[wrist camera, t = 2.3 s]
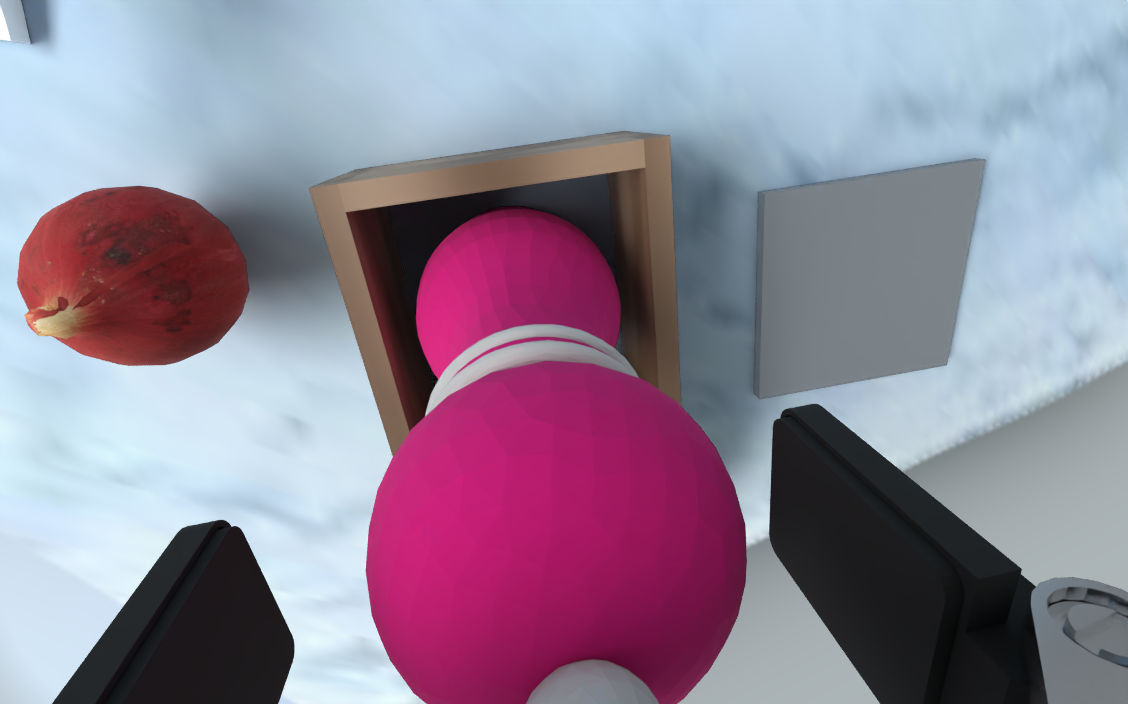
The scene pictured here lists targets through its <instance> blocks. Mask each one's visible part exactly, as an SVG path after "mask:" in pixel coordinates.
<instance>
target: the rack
mask: <svg viewBox="0 0 1128 704" xmlns="http://www.w3.org/2000/svg"><path fill="white" fill-rule="evenodd" d="M605 173H607V175H608V186H609V198H610V209H611V220H612V231H613V242H614V254H615V265H616V276H617V287H618V291H619V297H620V304H621V317H620V321H621V332H622V343H623V354H624V355H622V356H624V357H625V358H626V360H627V361H628V362H629V364H630V365H631V366H632V368H633V369H634V370H635V372H636V374H637V376H638V377H639V378H640V379H643V380H645V381H647V382H648V383H650V384H651V385H653V386H654V387H656V388H657V389H659V390H660V391H661V392H663V393H664V394H666V395H667V396H669V397H670V398H672V399H673V400H675V401H676V402H677V403H678V404H679V405H680V406H681V388H680V365H679V341H678V317H677V294H676V270H675V246H674V223H673V199H672V175H671V152H670V136H669V135H659V134H649V133H638V132H628V131H620V132H613V133H606V134H599V135H592V136H586V137H579V138H572V139H565V140H558V141H551V142H544V143H537V144H530V145H523V146H516V147H509V148H502V149H495V150H488V151H481V152H474V153H468V154H461V155H454V156H447V157H440V158H433V159H426V160H419V161H412V162H405V163H398V164H391V165H384V166H377V167H370V168H363V169H356V170H353V171H351V172H348V173H346V174H343V175H341V176H338V177H336V178H333V179H331V180H328V181H326V182H323V183H321V184H318V185H315V186H313V187H310V188H309V190H310V193H311V196H312V199H313V203H314V206H315V209H316V212H317V215H318V219H319V222H320V225H321V228H322V231H323V235H324V238H325V241H326V244H327V247H328V250H329V254H330V257H331V260H332V263H333V266H334V270H335V273H336V276H337V279H338V282H339V286H340V289H341V292H342V295H343V298H344V302H345V305H346V308H347V311H348V314H349V318H350V321H351V324H352V327H353V330H354V334H355V337H356V340H357V343H358V346H359V350H360V353H361V356H362V359H363V362H364V366H365V369H366V372H367V375H368V378H369V382H370V385H371V388H372V391H373V394H374V398H375V401H376V404H377V407H378V410H379V414H380V417H381V420H382V423H383V426H384V429H385V433H386V436H387V439H388V442H389V445H390V449H391V452H392V455H393V456H394V455H395V453H396V452H397V450H398V449H399V447H400V446H401V444H402V443H403V441H404V440H405V438H406V437H407V435H408V434H409V432H410V431H411V429H412V428H413V427H414V426H416V425H417V424H418V423H419V422H420V421H421V420H422V419H423V418H424V417H425V414H426V410H427V406H428V403H429V399H430V396H431V393H432V391H433V389H434V387H433V383H432V379H431V375H430V372H429V368H428V364H427V360H426V356H425V354H424V352H423V350H422V347H421V343H420V340H419V337H418V332H417V324H416V317H415V314H414V310H413V306H412V302H411V298H410V294H409V290H408V286H407V283H406V279H405V275H404V271H403V267H402V263H401V259H400V255H399V252H398V248H397V244H396V240H395V236H394V232H393V228H392V225H391V221H390V217H389V213H388V209H387V206H390V205H397V204H404V203H410V202H417V201H424V200H431V199H437V198H444V197H451V196H457V195H464V194H471V193H478V192H484V191H491V190H498V189H504V188H511V187H518V186H524V185H531V184H538V183H545V182H551V181H558V180H565V179H571V178H578V177H585V176H591V175H598V174H605Z"/></svg>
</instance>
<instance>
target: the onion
mask: <svg viewBox="0 0 1128 704" xmlns="http://www.w3.org/2000/svg"><path fill="white" fill-rule="evenodd" d="M17 284H18V287H19V290H20V292H21V295H22V297H23V299H24V301H25V303H26V305H27V307H28V309H29V312H28V313H27V314H25V315H24V316H25V318H26V321H27V323H28V326H29V327H30V328H31V329H32V330H33V331H34V332H35V333H36V334H37V335H38V336H52V337H54V338H56V339H57V340H59V341H61V342H62V343H64V344H66V345H67V346H69V347H70V348H72V349H74V350H75V351H77V352H79V353H81V354H82V355H86V356H89V357H93V358H97V359H101V360H105V361H108V362H112V363H116V364H121V365H128V366H139V365H167V364H172V363H177V362H180V361H182V360H184V359H186V358H189V357H191V356H193V355H195V354H198V353H200V352H202V351H204V350H206V349H208V348H210V347H212V346H213V345H215V344H217V343H218V342H219V341H220V340H221V339H222V338H223V336H224V335H225V334H226V333H227V332H228V331H229V330H230V328H231V327H232V326H233V325H234V324H235V322H236V321H237V320H238V318H239V317H240V315H241V314H242V311H243V308H244V305H245V302H246V298H247V295H248V292H249V283H248V275H247V268H246V260H245V257H244V255H243V254H242V252H241V250H240V248H239V246H238V245H237V243H236V241H235V239H234V237H233V236H232V234H231V232H230V230H229V229H228V227H227V226H226V225H224V224H223V223H222V222H221V221H219V220H218V219H217V218H216V217H215V216H213V215H212V214H211V213H210V212H208V211H207V210H206V209H205V208H203V207H202V206H201V205H200V204H198V203H197V202H196V201H194V200H191V199H188V198H185V197H182V196H179V195H176V194H173V193H170V192H167V191H164V190H161V189H158V188H153V187H145V186H130V187H115V188H101V189H97V190H93V191H89V192H85V193H82V194H81V195H79V196H77V197H75V198H73V199H71V200H69V201H67V202H65V203H63V204H61V205H59V206H57V207H55V208H53V209H52V210H50V211H49V212H48V213H46V214H45V215H43V216H42V217H41V218H40V220H39V221H38V223H37V225H36V226H35V228H34V229H33V231H32V233H31V234H30V236H29V237H28V239H27V241H26V242H25V244H24V246H23V248H22V250H21V252H20V259H19V270H18V281H17Z"/></svg>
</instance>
